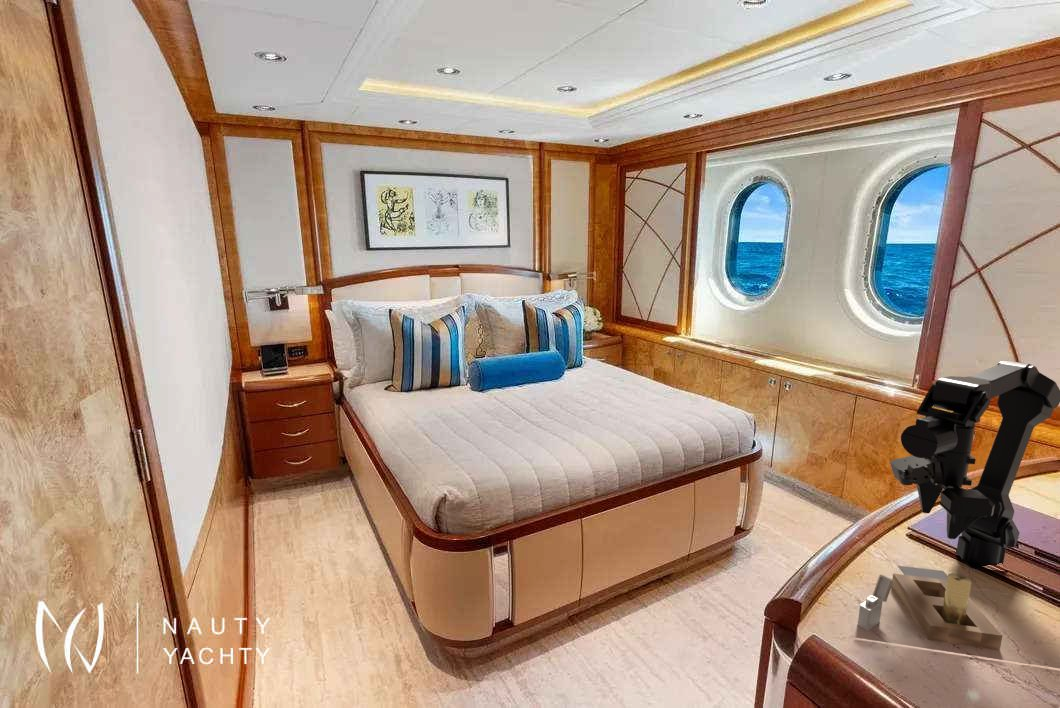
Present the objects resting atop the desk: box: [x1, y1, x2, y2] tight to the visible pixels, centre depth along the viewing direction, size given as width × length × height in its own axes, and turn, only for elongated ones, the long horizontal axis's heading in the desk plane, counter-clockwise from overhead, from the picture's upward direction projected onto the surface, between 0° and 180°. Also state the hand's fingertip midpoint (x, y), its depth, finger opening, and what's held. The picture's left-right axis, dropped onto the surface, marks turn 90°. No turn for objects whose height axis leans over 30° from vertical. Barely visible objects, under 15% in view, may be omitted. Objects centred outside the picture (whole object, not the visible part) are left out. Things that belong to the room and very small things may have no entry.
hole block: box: [891, 573, 1003, 651], centre depth 89 cm, size 10×14×3 cm
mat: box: [897, 565, 948, 580], centre depth 99 cm, size 8×7×1 cm
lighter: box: [857, 574, 893, 632], centre depth 87 cm, size 7×2×8 cm, turn 121°
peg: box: [941, 572, 973, 625], centre depth 85 cm, size 3×3×10 cm
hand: (937, 525), depth 94 cm, fingers open, 9 cm apart
